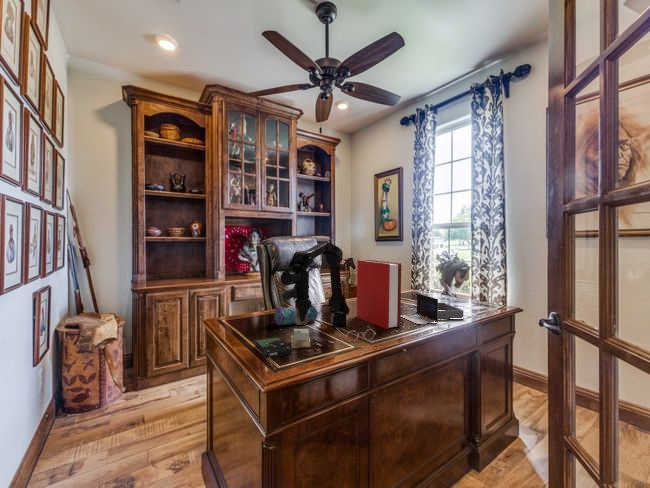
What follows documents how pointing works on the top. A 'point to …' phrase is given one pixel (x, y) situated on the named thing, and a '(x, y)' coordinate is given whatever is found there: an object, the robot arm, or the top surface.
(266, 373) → the top surface
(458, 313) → the charger caddy
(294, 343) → the tower base
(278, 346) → the disk drive
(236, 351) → the top surface
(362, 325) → the eyeglasses
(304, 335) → the tower top
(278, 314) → the pencil case
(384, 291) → the book
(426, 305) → the laptop
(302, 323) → the walnut block
